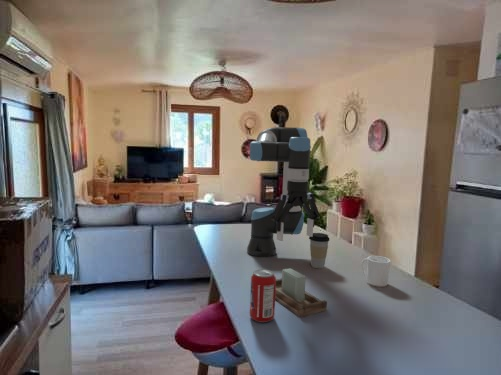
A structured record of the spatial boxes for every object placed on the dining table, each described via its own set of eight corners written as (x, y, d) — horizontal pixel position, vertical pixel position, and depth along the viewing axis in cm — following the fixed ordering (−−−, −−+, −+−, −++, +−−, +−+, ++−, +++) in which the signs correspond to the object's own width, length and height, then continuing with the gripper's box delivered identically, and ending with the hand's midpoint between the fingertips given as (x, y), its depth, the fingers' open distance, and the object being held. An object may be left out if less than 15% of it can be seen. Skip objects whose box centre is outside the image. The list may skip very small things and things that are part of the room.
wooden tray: (261, 289, 131) (261, 282, 131) (284, 285, 137) (285, 277, 137) (300, 317, 111) (300, 308, 110) (326, 310, 116) (326, 301, 116)
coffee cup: (328, 270, 155) (330, 238, 154) (307, 268, 157) (308, 236, 156) (327, 264, 165) (329, 233, 163) (307, 262, 166) (309, 231, 165)
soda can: (266, 326, 104) (268, 279, 102) (244, 319, 108) (246, 273, 106) (278, 316, 111) (280, 271, 109) (257, 310, 115) (259, 266, 113)
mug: (387, 281, 145) (389, 257, 144) (389, 289, 137) (391, 263, 135) (360, 277, 149) (362, 254, 147) (360, 284, 140) (361, 260, 139)
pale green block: (281, 293, 126) (282, 269, 125) (289, 291, 128) (290, 268, 127) (296, 303, 119) (297, 278, 118) (304, 301, 120) (305, 276, 119)
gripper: (274, 182, 114) (272, 244, 117) (331, 180, 126) (327, 236, 129) (262, 180, 120) (260, 239, 123) (317, 178, 133) (314, 232, 136)
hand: (295, 238), depth 126 cm, fingers open, 13 cm apart
